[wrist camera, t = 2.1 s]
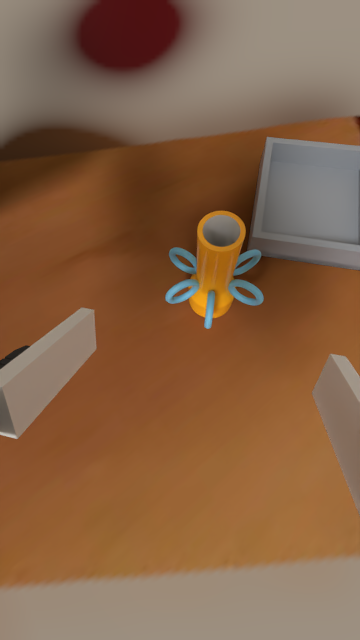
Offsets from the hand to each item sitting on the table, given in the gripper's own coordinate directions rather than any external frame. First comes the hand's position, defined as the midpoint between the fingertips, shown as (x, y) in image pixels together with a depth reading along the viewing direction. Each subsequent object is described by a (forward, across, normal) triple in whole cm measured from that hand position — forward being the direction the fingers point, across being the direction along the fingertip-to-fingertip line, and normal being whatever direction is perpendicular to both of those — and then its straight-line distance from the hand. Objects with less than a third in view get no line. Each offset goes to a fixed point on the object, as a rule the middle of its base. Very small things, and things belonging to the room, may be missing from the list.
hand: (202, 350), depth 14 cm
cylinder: (+21, 0, -6) cm, 22 cm away
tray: (+33, +12, +7) cm, 36 cm away
